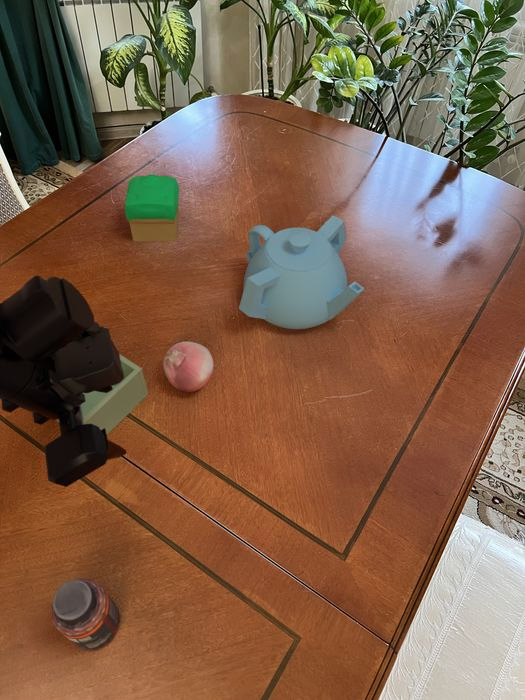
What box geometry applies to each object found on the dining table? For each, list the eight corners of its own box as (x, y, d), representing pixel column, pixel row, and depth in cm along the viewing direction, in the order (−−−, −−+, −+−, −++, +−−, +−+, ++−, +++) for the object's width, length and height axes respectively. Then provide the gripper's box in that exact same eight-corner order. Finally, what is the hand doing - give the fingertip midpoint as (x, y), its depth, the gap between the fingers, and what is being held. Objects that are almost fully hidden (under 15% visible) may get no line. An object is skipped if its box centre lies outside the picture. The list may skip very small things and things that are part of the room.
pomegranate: (160, 366, 91) (154, 338, 85) (205, 352, 93) (202, 323, 87) (175, 406, 87) (170, 379, 81) (223, 389, 89) (221, 362, 83)
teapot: (239, 336, 95) (238, 276, 84) (242, 257, 107) (242, 196, 96) (354, 338, 95) (368, 279, 85) (344, 259, 107) (355, 199, 96)
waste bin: (93, 448, 82) (82, 424, 77) (39, 408, 86) (25, 382, 81) (148, 394, 88) (142, 368, 82) (95, 359, 92) (86, 332, 86)
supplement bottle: (102, 587, 70) (81, 557, 61) (131, 624, 68) (114, 599, 59) (60, 623, 68) (31, 597, 59) (89, 664, 65) (63, 643, 56)
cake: (183, 208, 116) (178, 165, 108) (180, 243, 109) (175, 200, 101) (134, 208, 115) (126, 165, 107) (128, 244, 109) (119, 200, 101)
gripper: (92, 411, 49) (190, 457, 62) (65, 264, 60) (153, 329, 72) (-4, 470, 52) (109, 503, 64) (-14, 318, 62) (85, 372, 75)
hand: (116, 420), depth 69 cm, fingers open, 9 cm apart
